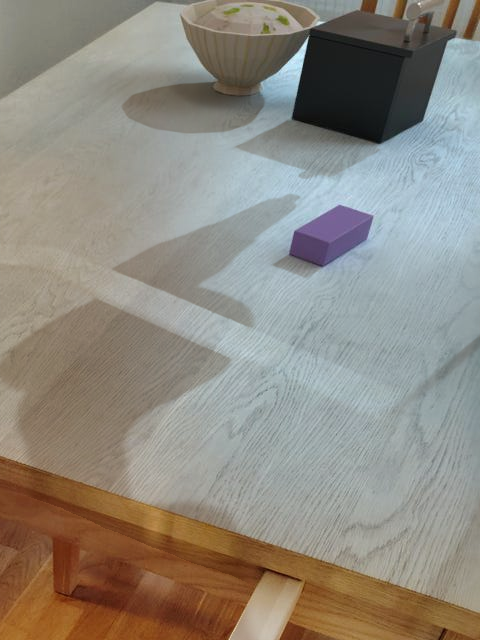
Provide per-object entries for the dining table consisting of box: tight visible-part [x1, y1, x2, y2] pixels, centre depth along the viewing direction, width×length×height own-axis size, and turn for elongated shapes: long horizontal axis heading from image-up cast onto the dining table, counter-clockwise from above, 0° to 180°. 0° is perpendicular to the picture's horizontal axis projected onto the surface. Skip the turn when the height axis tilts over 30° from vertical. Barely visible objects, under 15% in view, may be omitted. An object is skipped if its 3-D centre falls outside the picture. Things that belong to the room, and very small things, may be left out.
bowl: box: [179, 0, 322, 97], centre depth 127 cm, size 19×19×10 cm
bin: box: [291, 35, 449, 144], centre depth 118 cm, size 13×11×10 cm
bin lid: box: [309, 0, 458, 58], centre depth 112 cm, size 14×11×5 cm
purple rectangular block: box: [288, 204, 374, 267], centre depth 96 cm, size 9×4×2 cm, turn 135°
